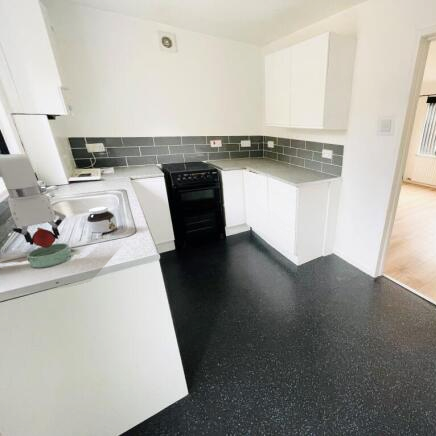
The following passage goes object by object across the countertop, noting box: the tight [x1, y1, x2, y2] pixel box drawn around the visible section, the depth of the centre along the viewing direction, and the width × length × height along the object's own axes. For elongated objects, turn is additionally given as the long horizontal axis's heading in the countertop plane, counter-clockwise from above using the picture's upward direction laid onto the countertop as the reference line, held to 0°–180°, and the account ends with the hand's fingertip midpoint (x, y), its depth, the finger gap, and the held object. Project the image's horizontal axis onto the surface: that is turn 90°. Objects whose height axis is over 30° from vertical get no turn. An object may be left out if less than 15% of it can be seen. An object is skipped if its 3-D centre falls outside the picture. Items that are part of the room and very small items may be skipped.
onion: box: [31, 227, 56, 248], centre depth 88 cm, size 6×6×8 cm
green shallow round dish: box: [26, 242, 72, 269], centre depth 90 cm, size 11×11×4 cm
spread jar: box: [86, 206, 118, 236], centre depth 116 cm, size 12×11×12 cm
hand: (44, 240), depth 88 cm, fingers closed on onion, 5 cm apart
